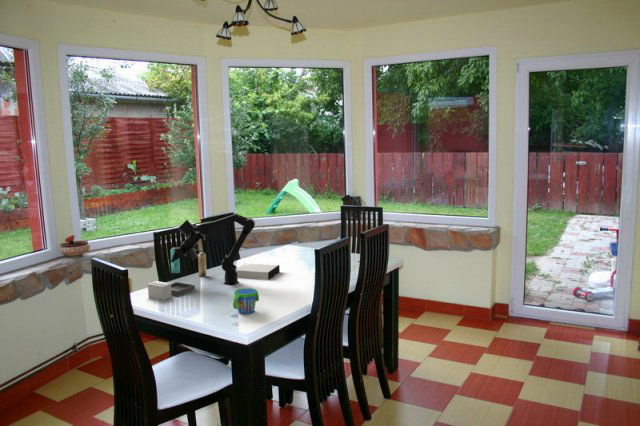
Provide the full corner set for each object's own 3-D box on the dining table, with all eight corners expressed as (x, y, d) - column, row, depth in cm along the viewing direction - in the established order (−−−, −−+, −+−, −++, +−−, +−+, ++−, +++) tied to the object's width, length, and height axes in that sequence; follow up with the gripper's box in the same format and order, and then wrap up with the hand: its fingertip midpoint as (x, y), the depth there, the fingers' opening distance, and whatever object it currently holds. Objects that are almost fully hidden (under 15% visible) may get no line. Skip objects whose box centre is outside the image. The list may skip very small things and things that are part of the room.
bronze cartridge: (207, 275, 305) (207, 252, 303) (203, 277, 301) (202, 254, 300) (202, 274, 307) (201, 252, 305) (197, 276, 303) (196, 253, 302)
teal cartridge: (181, 271, 287) (180, 247, 285) (177, 273, 283) (176, 249, 281) (174, 271, 288) (172, 247, 286) (170, 273, 284) (168, 248, 282)
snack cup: (251, 305, 250) (250, 285, 248) (266, 310, 243) (266, 289, 241) (226, 313, 238) (225, 292, 236) (241, 318, 231) (240, 297, 230)
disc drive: (269, 280, 296) (269, 272, 295) (233, 277, 302) (233, 269, 301) (279, 273, 313) (279, 265, 312) (245, 270, 319) (245, 262, 318)
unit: (171, 296, 264) (171, 283, 263) (163, 299, 258) (162, 286, 257) (157, 293, 268) (156, 280, 267) (148, 297, 263) (147, 283, 262)
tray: (195, 289, 276) (194, 285, 275) (177, 296, 264) (177, 291, 264) (176, 286, 282) (176, 281, 281) (159, 292, 270) (159, 287, 270)
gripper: (200, 254, 275) (180, 275, 276) (205, 247, 294) (186, 266, 295) (184, 240, 274) (164, 261, 274) (190, 233, 292) (171, 253, 293)
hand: (172, 260), depth 284 cm, fingers closed on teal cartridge, 4 cm apart
